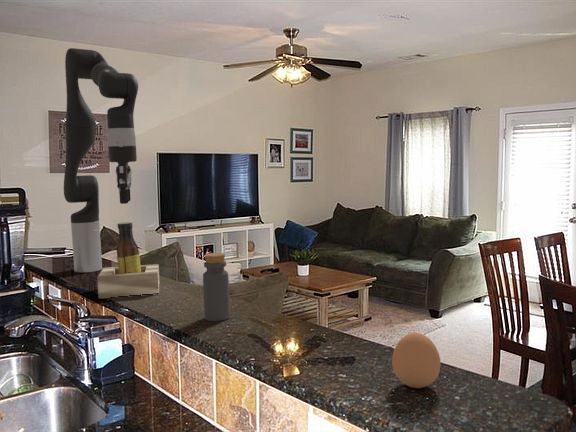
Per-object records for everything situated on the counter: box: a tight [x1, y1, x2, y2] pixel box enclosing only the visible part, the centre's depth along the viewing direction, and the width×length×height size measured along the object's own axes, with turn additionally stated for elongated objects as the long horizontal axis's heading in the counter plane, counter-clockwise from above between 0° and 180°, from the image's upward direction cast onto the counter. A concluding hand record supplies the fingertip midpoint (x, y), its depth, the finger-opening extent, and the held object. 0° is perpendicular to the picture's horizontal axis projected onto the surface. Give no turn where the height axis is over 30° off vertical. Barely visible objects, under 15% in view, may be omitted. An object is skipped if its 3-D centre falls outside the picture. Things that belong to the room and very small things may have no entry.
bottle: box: [202, 252, 231, 322], centre depth 125 cm, size 6×6×15 cm
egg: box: [391, 332, 441, 389], centre depth 84 cm, size 7×7×8 cm
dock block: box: [96, 263, 161, 300], centre depth 156 cm, size 14×16×6 cm
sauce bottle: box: [116, 221, 141, 274], centre depth 155 cm, size 7×6×20 cm
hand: (125, 202), depth 153 cm, fingers open, 8 cm apart
